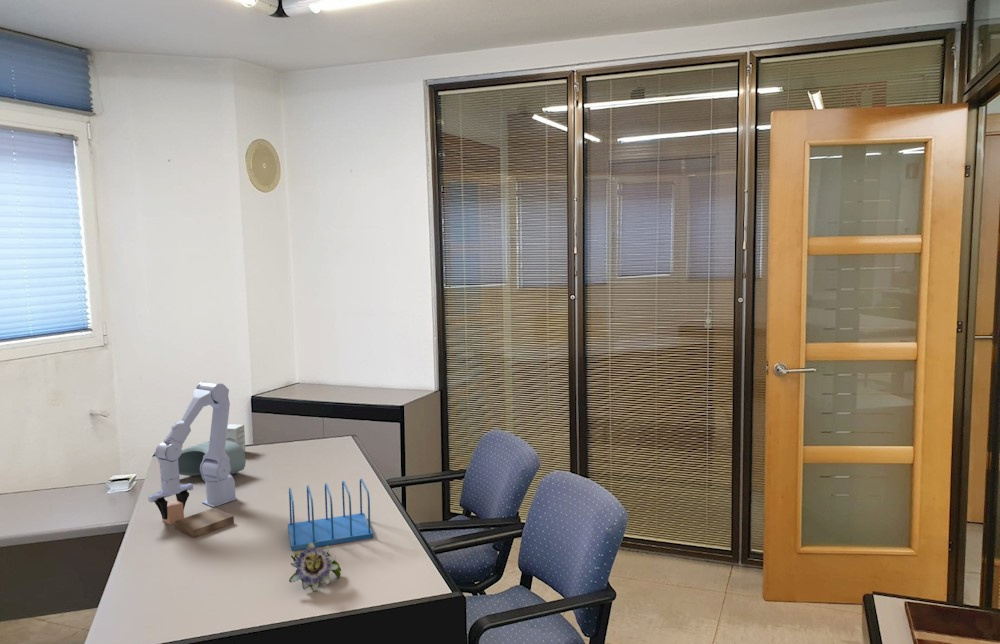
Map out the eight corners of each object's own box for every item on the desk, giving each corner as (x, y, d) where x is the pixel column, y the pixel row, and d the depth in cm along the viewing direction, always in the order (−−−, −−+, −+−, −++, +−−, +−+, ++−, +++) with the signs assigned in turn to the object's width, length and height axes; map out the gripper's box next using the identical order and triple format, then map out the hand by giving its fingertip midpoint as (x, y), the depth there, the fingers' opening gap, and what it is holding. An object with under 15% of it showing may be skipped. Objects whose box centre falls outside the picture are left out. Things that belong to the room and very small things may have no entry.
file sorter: (291, 552, 212) (289, 503, 210) (287, 529, 229) (285, 484, 227) (373, 538, 221) (371, 492, 219) (364, 517, 237) (362, 474, 235)
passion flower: (316, 611, 190) (287, 584, 183) (304, 584, 200) (276, 557, 193) (353, 579, 193) (326, 551, 186) (340, 554, 203) (314, 527, 196)
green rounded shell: (246, 475, 281) (244, 444, 279) (204, 490, 265) (202, 457, 263) (212, 466, 292) (210, 436, 291) (170, 479, 276) (168, 448, 275)
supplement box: (221, 456, 305) (220, 428, 303) (231, 450, 312) (229, 423, 311) (237, 456, 304) (235, 428, 302) (246, 451, 311) (244, 424, 309)
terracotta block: (176, 516, 240) (175, 499, 239) (184, 519, 237) (182, 502, 236) (162, 521, 236) (161, 504, 235) (169, 524, 233) (168, 507, 232)
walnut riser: (214, 514, 241) (214, 507, 241) (233, 523, 234) (233, 515, 234) (175, 528, 230) (174, 521, 230) (194, 537, 223) (193, 530, 223)
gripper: (184, 469, 243) (187, 506, 245) (142, 481, 231) (145, 520, 233) (195, 473, 239) (197, 511, 240) (152, 485, 227) (156, 525, 229)
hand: (173, 515), depth 236 cm, fingers closed on terracotta block, 5 cm apart
